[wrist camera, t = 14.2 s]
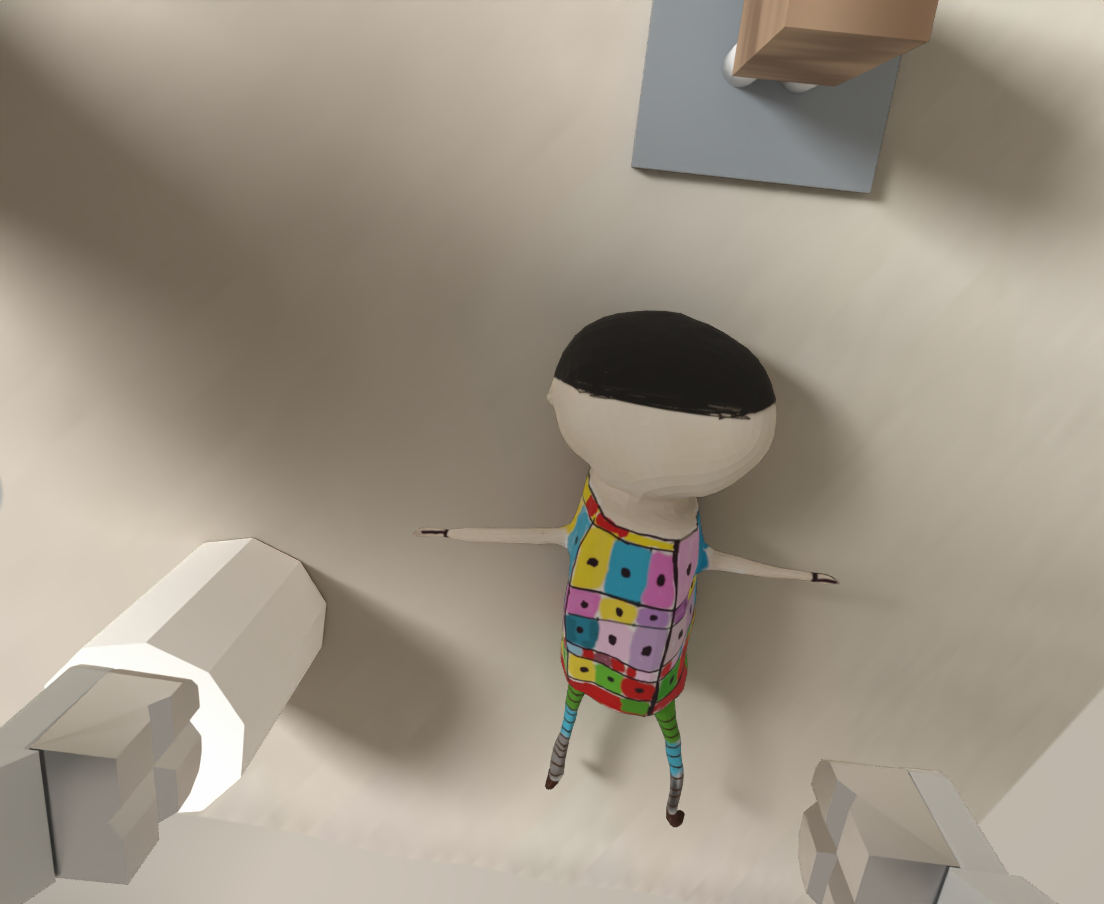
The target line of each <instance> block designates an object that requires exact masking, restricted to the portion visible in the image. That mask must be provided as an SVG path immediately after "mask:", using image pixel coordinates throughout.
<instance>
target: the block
mask: <svg viewBox="0 0 1104 904" xmlns="http://www.w3.org/2000/svg"><path fill="white" fill-rule="evenodd" d="M937 5H938V0H744V4H743V10H742V16H741V22H740V28H739V35H738V41H737V47H736V53H735V60H734V66H733V72H732V76H736V77H746V78H756V79H765V80H775V81H784V82H794V83H803V84H813V85H823V86H832V87H835V86H838V85H840V84H842V83H844V82H846V81H848V80H850V79H852V78H854V77H856V76H858V75H860V74H862V73H864V72H866V71H869V70H871V69H873V68H875V67H877V66H879V65H881V64H883V63H885V62H887V61H889V60H891V59H893V58H895V57H898V56H900V55H902V54H904V53H906V52H908V51H910V50H912V49H914V48H916V47H918V46H920V45H922V44H924V43H926V42H929V39H930V35H931V30H932V26H933V22H934V17H935V13H936V9H937Z"/></svg>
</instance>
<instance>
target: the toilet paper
mask: <svg viewBox="0 0 1104 904" xmlns="http://www.w3.org/2000/svg"><path fill="white" fill-rule="evenodd" d="M325 612H326V602H325V601H324V599H323V597H322V596H321V594H320V592H319V591H318V589H317V588H316V586H315V584H314V583H313V581H312V580H311V578H310V576H309V575H308V573H307V572H306V570H305V568H304V567H303V565H302V563H301V562H300V561H298V560H296V559H294V558H292V557H290V556H288V555H286V554H284V553H282V552H280V551H278V550H276V549H274V548H272V547H270V546H268V545H266V544H264V543H262V542H260V541H258V540H256V539H254V538H246V539H236V540H226V541H216V542H206V543H203V544H202V545H200V546H199V547H198V548H197V549H196V550H195V551H194V552H192V553H191V554H190V555H189V556H188V557H187V558H185V559H184V560H183V561H182V562H181V563H180V564H179V565H177V566H176V567H175V568H174V569H173V570H172V571H170V572H169V573H168V574H167V575H166V576H165V577H164V578H162V579H161V580H160V581H159V582H158V583H157V584H155V585H154V586H153V587H152V588H151V589H150V590H149V591H147V592H146V593H145V594H144V595H143V596H142V597H140V598H139V599H138V600H137V601H136V602H135V603H134V604H132V605H131V606H130V607H129V608H128V609H127V610H125V611H124V612H123V613H122V614H121V615H120V616H119V617H117V618H116V619H115V620H114V621H113V622H112V623H110V624H109V625H108V626H107V627H106V628H105V629H104V630H102V631H101V632H100V633H99V634H98V635H97V636H95V637H94V638H93V639H92V640H91V641H90V642H89V643H87V644H86V645H85V646H84V647H83V648H82V649H81V650H80V651H79V652H78V653H77V654H76V655H75V656H74V657H73V658H72V659H71V660H70V661H69V662H68V663H67V664H66V665H65V666H64V667H63V668H62V669H61V670H60V671H59V672H58V673H57V674H56V675H55V676H54V677H53V678H52V679H51V680H50V681H49V682H48V683H47V684H46V685H45V686H44V689H45V688H46V687H48V686H49V685H50V684H51V683H52V682H53V681H54V680H56V679H57V678H58V677H59V676H60V675H61V674H62V673H64V672H65V671H66V670H67V669H68V668H69V667H72V666H76V665H79V664H87V665H94V666H102V667H109V668H114V669H125V670H132V671H139V672H145V673H152V674H159V675H166V676H172V677H179V678H186V679H191V680H192V681H194V682H195V683H196V684H197V685H198V691H199V702H200V708H199V709H198V710H197V712H196V713H195V714H194V715H193V717H192V718H191V719H190V722H191V723H192V724H193V725H194V727H195V728H196V729H197V731H198V732H199V733H200V735H201V739H202V754H201V761H200V768H199V772H198V775H197V777H196V780H195V782H194V785H193V788H192V790H191V793H190V795H189V796H188V798H187V799H186V801H185V802H184V804H183V805H182V807H181V808H180V810H179V811H178V812H193V811H202V810H203V809H205V808H206V807H207V806H208V805H209V804H210V803H212V802H213V801H214V800H215V799H216V798H217V797H219V796H220V795H221V794H222V793H223V792H224V791H226V790H227V789H228V788H229V787H230V786H232V785H233V784H234V783H235V782H236V781H237V780H239V779H240V778H241V777H242V775H243V773H244V772H245V770H246V768H247V767H248V765H249V764H250V762H251V760H252V759H253V757H254V756H255V754H256V752H257V751H258V749H259V747H260V746H261V744H262V743H263V741H264V739H265V738H266V736H267V735H268V733H269V731H270V730H271V728H272V726H273V725H274V723H275V722H276V720H277V718H278V717H279V715H280V714H281V712H282V710H283V709H284V707H285V705H286V704H287V702H288V701H289V699H290V697H291V696H292V694H293V693H294V691H295V689H296V688H297V686H298V684H299V683H300V681H301V680H302V678H303V676H304V675H305V673H306V672H307V670H308V668H309V667H310V665H311V663H312V662H313V660H314V659H315V657H316V655H317V654H318V652H319V651H320V649H321V647H322V641H323V631H324V621H325ZM178 812H177V813H178Z"/></svg>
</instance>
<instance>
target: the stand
mask: <svg viewBox="0 0 1104 904" xmlns="http://www.w3.org/2000/svg"><path fill="white" fill-rule="evenodd" d="M743 4H744V0H653V3H652V11H651V19H650V26H649V34H648V42H647V49H646V57H645V65H644V72H643V80H642V88H641V95H640V103H639V111H638V118H637V126H636V134H635V141H634V149H633V157H632V164H631V167H633V168H642V169H651V170H660V171H669V172H678V173H687V174H696V175H705V176H715V177H724V178H733V179H742V180H751V181H760V182H769V183H778V184H787V185H796V186H805V187H814V188H823V189H832V190H841V191H850V192H859V193H870V192H871V188H872V183H873V179H874V174H875V170H876V166H877V161H878V157H879V152H880V148H881V143H882V139H883V134H884V130H885V126H886V121H887V117H888V112H889V108H890V103H891V99H892V95H893V90H894V86H895V81H896V77H897V72H898V68H899V63H900V59H901V55H900V56H898V57H895V58H893V59H891V60H889V61H887V62H885V63H883V64H881V65H879V66H877V67H875V68H873V69H871V70H869V71H866V72H864V73H862V74H860V75H858V76H856V77H854V78H852V79H850V80H848V81H846V82H844V83H842V84H840V85H838V86H835V87H832V86H823V85H813V84H803V83H794V82H784V81H775V80H765V79H756V78H746V77H736V76H732V72H733V66H734V60H735V53H736V47H737V41H738V35H739V28H740V22H741V16H742V10H743Z"/></svg>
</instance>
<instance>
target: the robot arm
mask: <svg viewBox="0 0 1104 904" xmlns="http://www.w3.org/2000/svg"><path fill="white" fill-rule="evenodd" d="M199 708H200V702H199V691H198V685H197V684H196V683H195V682H194V681H192V680H191V679H186V678H179V677H172V676H166V675H159V674H152V673H145V672H139V671H132V670H125V669H114V668H109V667H102V666H94V665H87V664H79V665H76V666H72V667H69V668H68V669H67V670H66V671H65V672H64V673H62V674H61V675H60V676H59V677H58V678H57V679H56V680H54V681H53V682H52V683H51V684H50V685H49V686H48V687H46V688H45V689H44V690H43V691H42V692H41V693H40V694H38V695H37V696H36V697H35V698H34V699H33V700H32V701H30V702H29V703H28V704H27V705H26V706H25V707H24V708H22V709H21V710H20V711H19V712H18V713H17V714H16V715H14V716H13V717H12V718H11V719H10V720H9V721H8V722H6V723H5V724H4V725H3V726H2V727H1V728H0V904H23V903H25V902H26V901H28V900H29V899H31V898H32V897H34V896H35V895H37V894H38V893H40V892H41V891H42V890H44V889H45V888H47V887H48V886H50V885H51V884H53V883H54V882H55V878H65V879H75V880H85V881H95V882H105V883H115V884H125V885H128V884H129V882H130V881H131V879H132V878H133V877H134V875H135V874H136V872H137V871H138V869H139V868H140V866H141V865H142V864H143V862H144V861H145V859H146V858H147V856H148V855H149V853H150V852H151V851H152V849H153V847H154V846H155V845H156V843H157V842H158V840H159V832H158V823H159V822H161V821H163V820H164V819H166V818H168V817H170V816H171V815H173V814H175V813H177V812H178V811H179V810H180V808H181V807H182V805H183V804H184V802H185V801H186V799H187V798H188V796H189V795H190V793H191V790H192V788H193V785H194V782H195V780H196V777H197V775H198V772H199V768H200V761H201V754H202V739H201V735H200V733H199V732H198V731H197V729H196V728H195V727H194V725H193V724H192V723H191V722H190V719H191V718H192V717H193V715H194V714H195V713H196V712H197V710H198V709H199ZM811 785H812V788H813V791H814V794H815V796H816V799H817V802H816V803H815V804H813V805H812V806H811V807H810V808H808V809H807V810H806V811H805V812H804V814H803V818H802V823H801V827H800V832H799V863H800V870H801V876H802V879H803V883H804V886H805V890H806V893H807V894H808V895H809V896H810V897H811V898H812V899H813V900H814V901H815V902H816V903H817V904H1058V903H1056V902H1055V901H1054V900H1052V899H1051V898H1050V897H1048V896H1047V895H1046V894H1044V893H1043V892H1042V891H1040V890H1039V889H1038V888H1036V887H1035V886H1033V885H1032V884H1031V883H1030V882H1028V881H1027V880H1026V879H1024V878H1022V877H1019V876H1013V875H1009V874H1008V873H1007V871H1006V870H1005V868H1004V866H1003V864H1002V863H1001V861H1000V860H999V858H998V856H997V855H996V853H995V852H994V850H993V848H992V847H991V845H990V843H989V842H988V840H987V839H986V837H985V836H984V834H983V832H982V830H981V829H980V827H979V826H978V824H977V822H976V821H975V819H974V818H973V816H972V814H971V813H970V811H969V809H968V808H967V806H966V805H965V803H964V801H963V800H962V798H961V797H960V795H959V793H958V792H957V790H956V788H955V787H954V785H953V784H952V782H951V780H950V779H949V778H948V777H947V776H946V775H945V774H943V773H942V772H941V771H934V770H924V769H914V768H904V767H900V768H892V767H884V766H875V765H867V764H859V763H851V762H842V761H834V760H826V759H821V761H820V762H819V764H818V765H817V767H816V769H815V772H814V776H813V780H812V783H811Z"/></svg>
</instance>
